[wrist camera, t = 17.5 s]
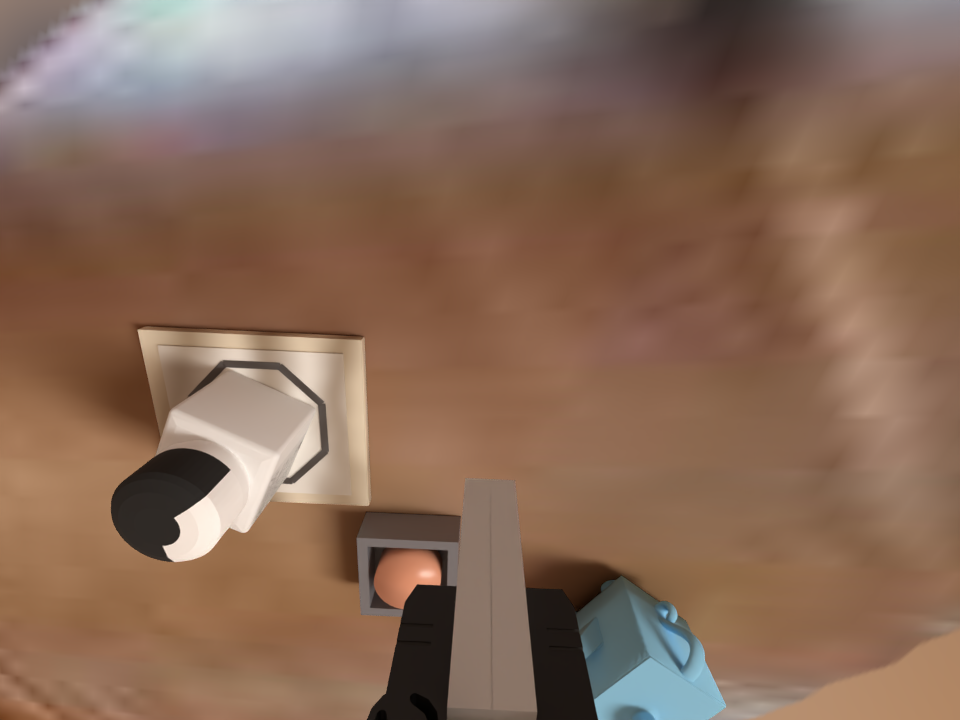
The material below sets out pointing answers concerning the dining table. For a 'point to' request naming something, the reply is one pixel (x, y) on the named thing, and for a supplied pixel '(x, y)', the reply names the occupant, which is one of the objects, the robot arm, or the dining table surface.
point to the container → (211, 468)
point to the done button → (406, 573)
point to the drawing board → (292, 371)
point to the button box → (403, 534)
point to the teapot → (644, 658)
